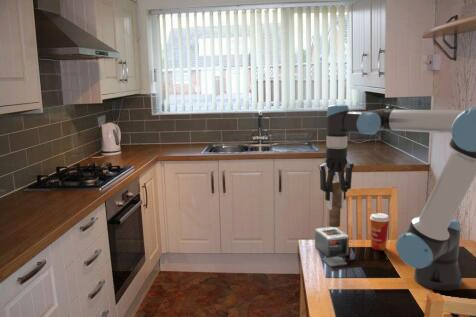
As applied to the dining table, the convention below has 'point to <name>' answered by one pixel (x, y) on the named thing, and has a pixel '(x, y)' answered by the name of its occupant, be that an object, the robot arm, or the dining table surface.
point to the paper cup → (379, 230)
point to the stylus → (335, 204)
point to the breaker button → (333, 242)
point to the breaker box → (324, 242)
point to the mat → (334, 261)
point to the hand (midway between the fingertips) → (335, 208)
